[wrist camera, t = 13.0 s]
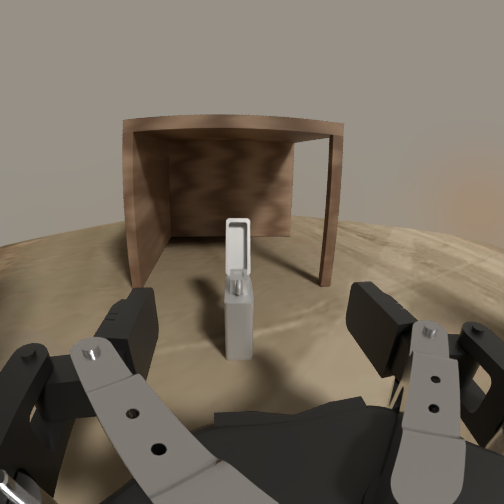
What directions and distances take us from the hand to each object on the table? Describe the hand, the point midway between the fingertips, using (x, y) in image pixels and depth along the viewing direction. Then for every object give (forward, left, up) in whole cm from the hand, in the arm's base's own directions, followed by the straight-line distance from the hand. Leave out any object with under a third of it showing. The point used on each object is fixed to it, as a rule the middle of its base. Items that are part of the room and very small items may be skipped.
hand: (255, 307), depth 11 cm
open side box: (0, +26, -7) cm, 27 cm away
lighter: (0, +9, -7) cm, 11 cm away
